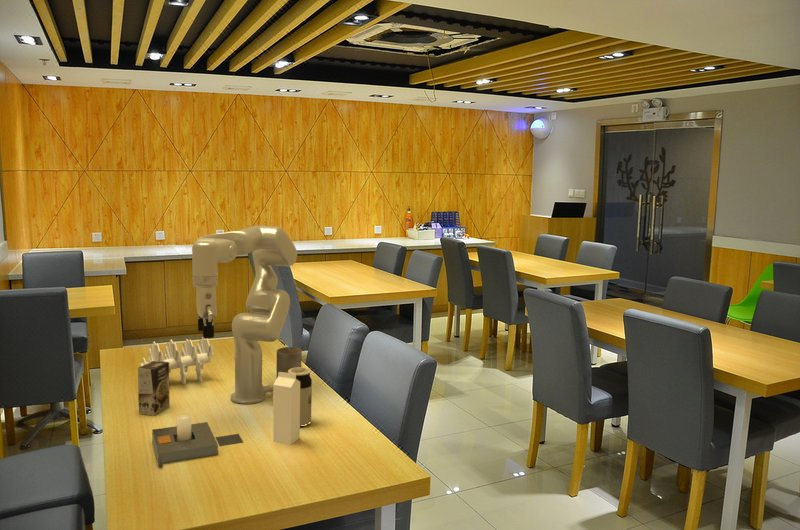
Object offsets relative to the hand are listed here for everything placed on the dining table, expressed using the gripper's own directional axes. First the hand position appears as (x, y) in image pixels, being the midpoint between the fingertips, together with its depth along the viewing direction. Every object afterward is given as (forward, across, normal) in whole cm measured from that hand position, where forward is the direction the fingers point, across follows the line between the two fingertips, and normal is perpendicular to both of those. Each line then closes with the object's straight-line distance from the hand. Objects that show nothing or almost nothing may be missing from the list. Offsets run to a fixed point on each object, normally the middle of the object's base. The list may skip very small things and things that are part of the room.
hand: (205, 334), depth 198 cm
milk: (+31, -22, -20) cm, 43 cm away
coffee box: (+31, +20, +14) cm, 39 cm away
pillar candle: (+31, +30, -36) cm, 56 cm away
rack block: (+30, -16, +9) cm, 35 cm away
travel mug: (+31, -9, -28) cm, 42 cm away
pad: (+30, -16, -4) cm, 34 cm away
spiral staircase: (+31, +45, +4) cm, 55 cm away
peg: (+30, -16, +9) cm, 35 cm away
